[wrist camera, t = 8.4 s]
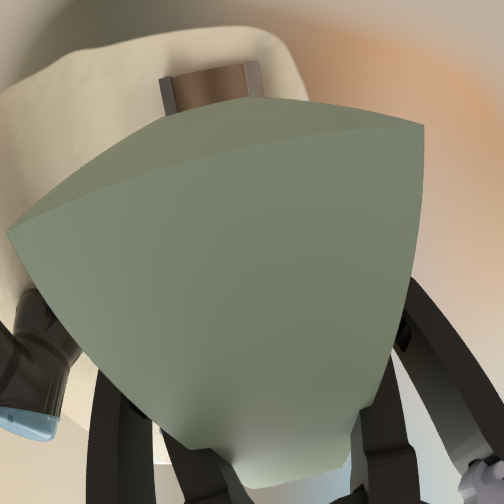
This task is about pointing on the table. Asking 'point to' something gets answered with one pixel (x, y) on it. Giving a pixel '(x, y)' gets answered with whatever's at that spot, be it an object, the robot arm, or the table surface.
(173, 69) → the table surface
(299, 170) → the cracker box
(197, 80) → the facing shelf
